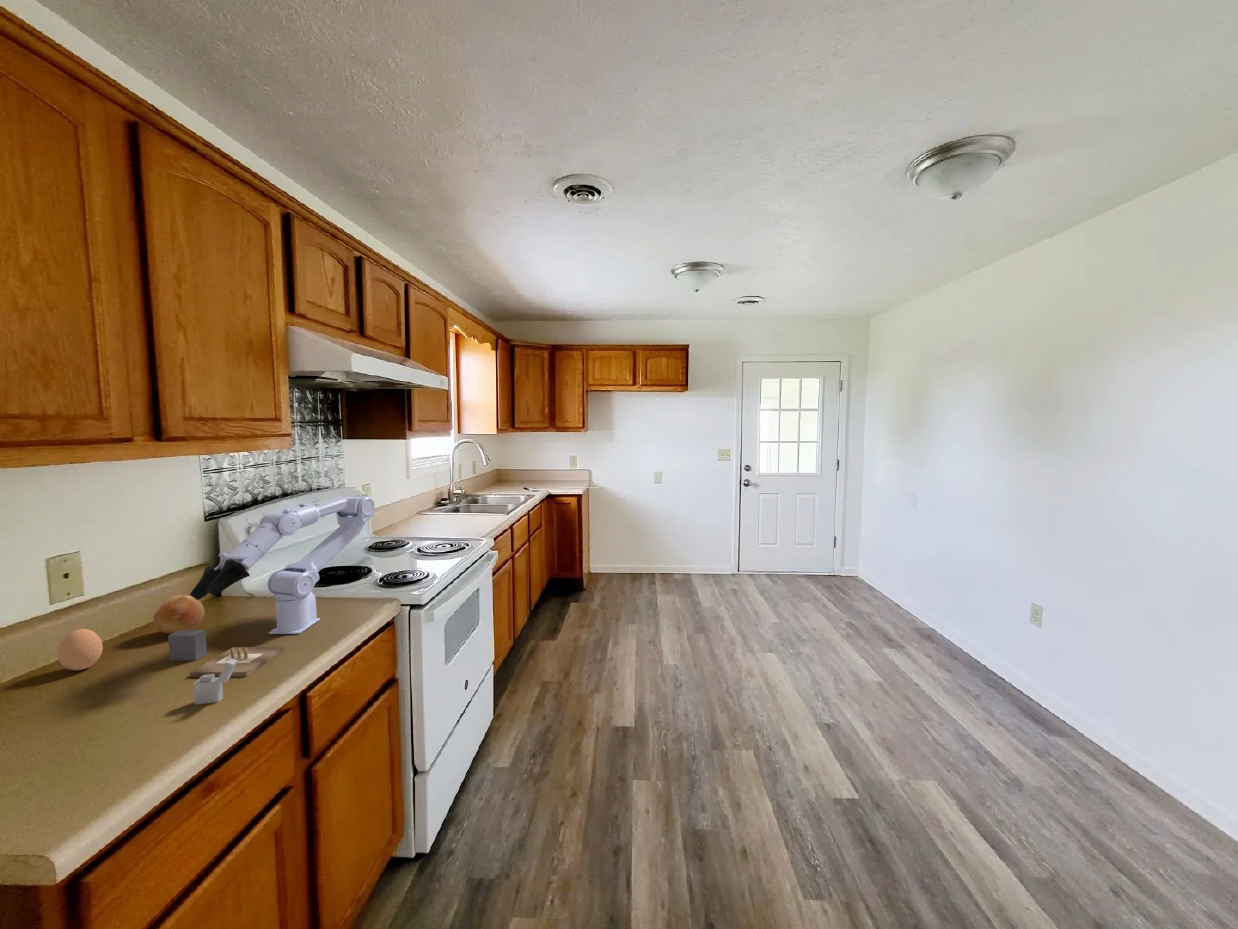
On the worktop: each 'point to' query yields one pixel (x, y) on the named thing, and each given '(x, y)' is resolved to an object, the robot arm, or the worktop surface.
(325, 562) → the robot arm
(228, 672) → the lighter
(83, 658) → the egg
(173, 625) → the onion
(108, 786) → the worktop surface
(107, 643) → the worktop surface
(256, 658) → the board
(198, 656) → the block
